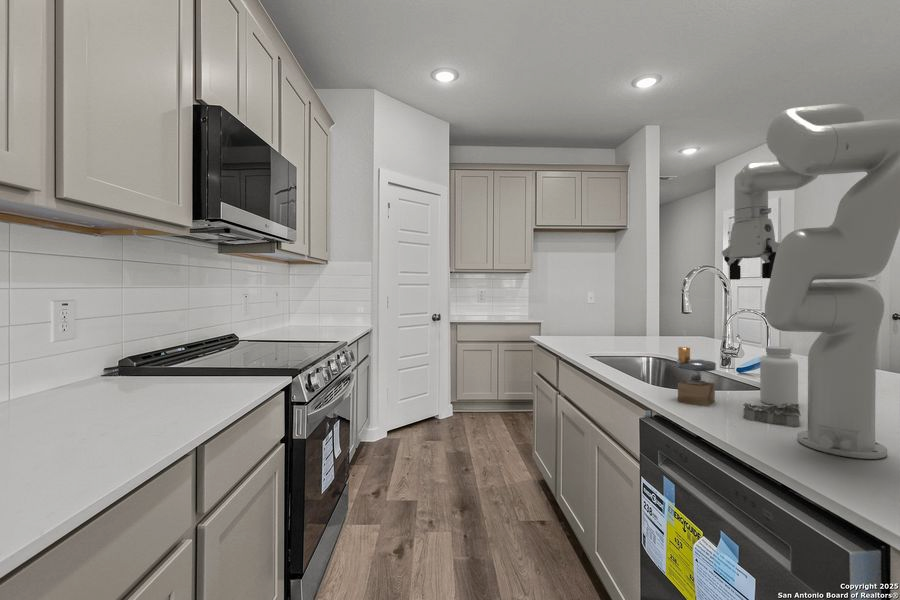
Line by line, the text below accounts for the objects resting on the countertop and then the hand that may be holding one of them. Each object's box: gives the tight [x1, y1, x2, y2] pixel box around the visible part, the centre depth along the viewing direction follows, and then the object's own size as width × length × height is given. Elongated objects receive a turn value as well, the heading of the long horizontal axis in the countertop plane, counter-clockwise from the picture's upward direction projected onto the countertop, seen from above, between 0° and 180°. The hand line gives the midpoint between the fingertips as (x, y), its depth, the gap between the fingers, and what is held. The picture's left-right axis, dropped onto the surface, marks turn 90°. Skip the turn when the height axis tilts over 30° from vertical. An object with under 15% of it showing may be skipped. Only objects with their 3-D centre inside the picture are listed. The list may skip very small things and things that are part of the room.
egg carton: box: [742, 402, 801, 427], centre depth 98 cm, size 11×8×4 cm
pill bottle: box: [759, 345, 799, 406], centre depth 112 cm, size 8×8×15 cm
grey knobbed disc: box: [676, 346, 717, 381], centre depth 115 cm, size 10×9×9 cm
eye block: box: [677, 379, 716, 407], centre depth 115 cm, size 7×7×6 cm
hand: (750, 278), depth 115 cm, fingers open, 9 cm apart
